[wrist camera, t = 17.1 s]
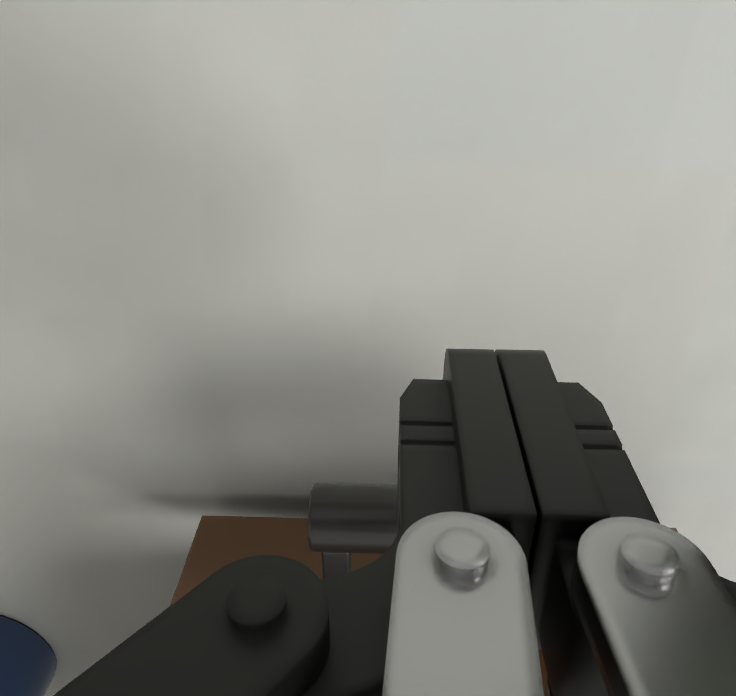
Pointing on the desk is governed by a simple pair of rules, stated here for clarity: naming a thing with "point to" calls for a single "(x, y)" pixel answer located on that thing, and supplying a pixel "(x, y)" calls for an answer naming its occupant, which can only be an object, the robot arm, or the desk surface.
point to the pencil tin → (24, 661)
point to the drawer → (305, 536)
